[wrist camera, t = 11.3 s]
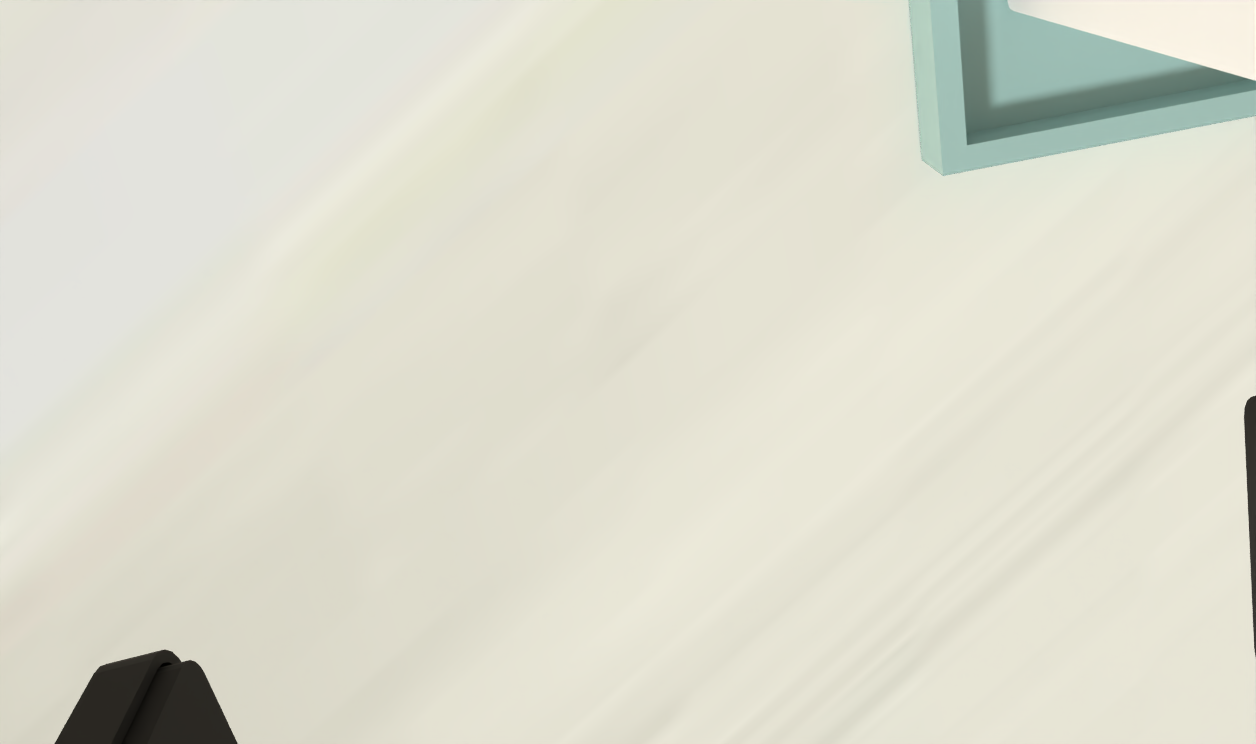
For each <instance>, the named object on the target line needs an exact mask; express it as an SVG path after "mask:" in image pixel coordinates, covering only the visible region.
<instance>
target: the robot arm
mask: <svg viewBox="0 0 1256 744" xmlns="http://www.w3.org/2000/svg"><path fill="white" fill-rule="evenodd" d="M1244 424H1245V447H1246V469H1247V492H1248V514H1249V537H1250V560H1251V582H1252V605H1253V627H1254V648H1255V655H1256V396H1253V397H1251V398H1250V399H1249V400H1248V401H1247V403H1246V406H1245V412H1244ZM55 744H237V741H236V739H235V737H234V735H233V733H232V731H231V729H230V727H229V724H228V722H227V720H226V718H225V716H224V714H223V712H222V709H221V707H220V705H219V703H218V701H217V699H216V697H215V695H214V692H213V690H212V688H211V686H210V684H209V682H208V680H207V678H206V675H205V673H204V672H203V670H202V668H201V667H200V666H199V665H198V664H197V663H196V662H195V661H191V660H189V661H185V662H181V661H180V659H179V658H178V657H177V656H176V655H175V654H174V653H173V652H171V651H168V650H161V651H157V652H153V653H149V654H145V655H141V656H137V657H133V658H129V659H125V660H121V661H117V662H113V663H109V664H106V665H103V666H100V667H99V668H98V669H97V671H96V672H95V673H94V674H93V676H92V678H91V680H90V681H89V683H88V685H87V687H86V689H85V690H84V692H83V694H82V696H81V698H80V699H79V701H78V703H77V705H76V706H75V708H74V710H73V712H72V714H71V715H70V717H69V719H68V721H67V723H66V724H65V726H64V728H63V730H62V731H61V733H60V735H59V737H58V739H57V740H56V742H55Z"/></svg>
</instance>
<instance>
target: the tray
mask: <svg viewBox="0 0 1256 744" xmlns="http://www.w3.org/2000/svg"><path fill="white" fill-rule="evenodd" d="M909 9H910V21H911V33H912V45H913V57H914V70H915V82H916V94H917V106H918V119H919V131H920V143H921V155H922V161H924V162H925V163H926V164H928V165H929V166H930V167H932V168H933V169H934V170H936V171H937V172H939V173H940V174H941V175H943V176H945V175H950V174H955V173H961V172H966V171H971V170H976V169H981V168H987V167H992V166H997V165H1002V164H1007V163H1013V162H1018V161H1023V160H1028V159H1034V158H1039V157H1044V156H1049V155H1054V154H1060V153H1065V152H1070V151H1075V150H1081V149H1086V148H1091V147H1096V146H1101V145H1107V144H1112V143H1117V142H1122V141H1127V140H1133V139H1138V138H1143V137H1148V136H1154V135H1159V134H1164V133H1169V132H1174V131H1180V130H1185V129H1190V128H1195V127H1201V126H1206V125H1211V124H1216V123H1221V122H1227V121H1232V120H1237V119H1242V118H1247V117H1253V116H1256V81H1255V80H1251V79H1248V78H1244V77H1241V76H1237V75H1234V74H1231V73H1227V72H1224V71H1220V70H1217V69H1213V68H1210V67H1206V66H1203V65H1199V64H1196V63H1192V62H1189V61H1185V60H1182V59H1178V58H1175V57H1171V56H1168V55H1164V54H1161V53H1158V52H1154V51H1151V50H1147V49H1144V48H1140V47H1137V46H1133V45H1130V44H1126V43H1123V42H1119V41H1116V40H1112V39H1109V38H1105V37H1102V36H1098V35H1095V34H1091V33H1088V32H1085V31H1081V30H1078V29H1074V28H1071V27H1067V26H1064V25H1060V24H1057V23H1053V22H1050V21H1046V20H1043V19H1039V18H1036V17H1032V16H1029V15H1025V14H1022V13H1018V12H1015V11H1013V10H1011V9H1010V8H1009V5H1008V1H1007V0H909Z"/></svg>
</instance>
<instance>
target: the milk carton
mask: <svg viewBox="0 0 1256 744" xmlns="http://www.w3.org/2000/svg"><path fill="white" fill-rule="evenodd" d="M1007 1H1008V5H1009V8H1010V9H1011V10H1013V11H1015V12H1018V13H1022V14H1025V15H1029V16H1032V17H1036V18H1039V19H1043V20H1046V21H1050V22H1053V23H1057V24H1060V25H1064V26H1067V27H1071V28H1074V29H1078V30H1081V31H1085V32H1088V33H1091V34H1095V35H1098V36H1102V37H1105V38H1109V39H1112V40H1116V41H1119V42H1123V43H1126V44H1130V45H1133V46H1137V47H1140V48H1144V49H1147V50H1151V51H1154V52H1158V53H1161V54H1164V55H1168V56H1171V57H1175V58H1178V59H1182V60H1185V61H1189V62H1192V63H1196V64H1199V65H1203V66H1206V67H1210V68H1213V69H1217V70H1220V71H1224V72H1227V73H1231V74H1234V75H1237V76H1241V77H1244V78H1248V79H1251V80H1255V81H1256V0H1007Z"/></svg>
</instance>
